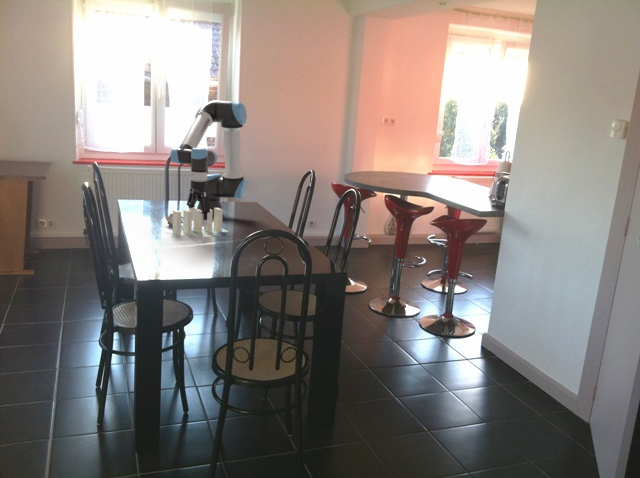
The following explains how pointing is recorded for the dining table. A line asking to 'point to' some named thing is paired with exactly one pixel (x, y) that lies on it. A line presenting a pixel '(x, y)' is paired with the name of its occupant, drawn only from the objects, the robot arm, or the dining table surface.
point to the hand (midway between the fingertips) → (197, 223)
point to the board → (196, 232)
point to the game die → (171, 220)
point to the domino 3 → (197, 220)
